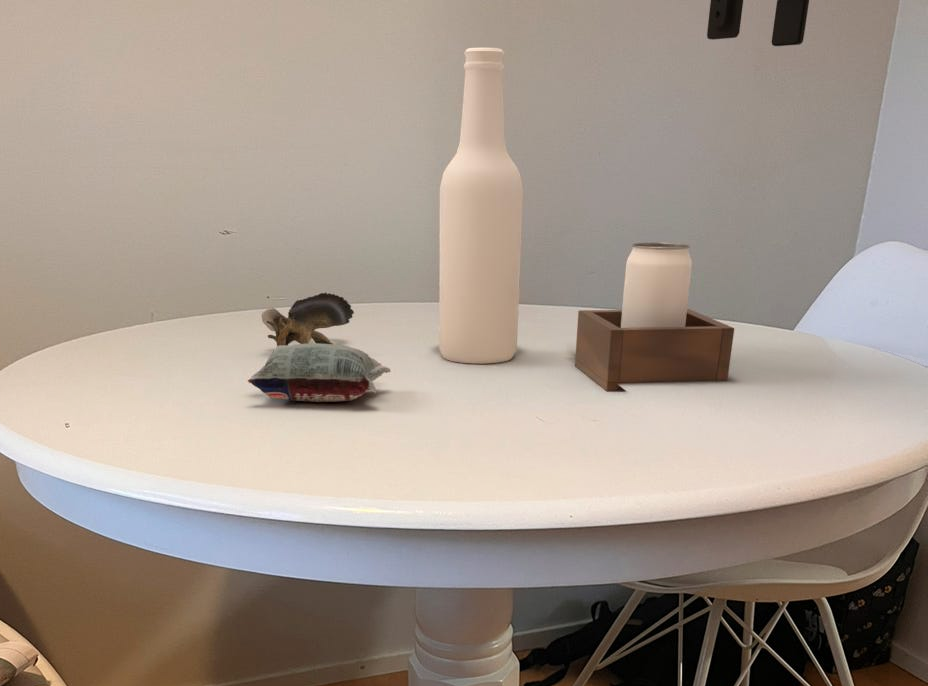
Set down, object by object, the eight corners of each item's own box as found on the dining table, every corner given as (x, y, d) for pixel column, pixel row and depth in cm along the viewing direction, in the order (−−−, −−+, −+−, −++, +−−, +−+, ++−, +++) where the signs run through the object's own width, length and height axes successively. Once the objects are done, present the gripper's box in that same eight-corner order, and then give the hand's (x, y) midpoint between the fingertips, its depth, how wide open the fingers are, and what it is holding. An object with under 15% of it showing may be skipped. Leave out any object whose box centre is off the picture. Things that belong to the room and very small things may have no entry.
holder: (683, 363, 108) (689, 308, 106) (726, 388, 97) (734, 328, 95) (574, 365, 107) (578, 310, 104) (606, 391, 96) (611, 330, 93)
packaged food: (273, 385, 97) (269, 334, 94) (391, 389, 96) (390, 337, 93) (248, 407, 89) (243, 352, 87) (376, 412, 88) (375, 356, 86)
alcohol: (531, 355, 112) (544, 50, 98) (488, 367, 105) (496, 43, 92) (468, 346, 116) (473, 54, 103) (423, 358, 110) (422, 47, 96)
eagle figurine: (308, 353, 106) (367, 328, 111) (273, 294, 104) (334, 270, 110) (279, 381, 112) (335, 356, 117) (245, 325, 111) (304, 302, 116)
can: (634, 359, 106) (645, 240, 100) (690, 367, 102) (704, 244, 97) (606, 369, 101) (616, 245, 96) (664, 377, 98) (677, 249, 92)
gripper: (760, -226, 76) (730, 32, 84) (881, -183, 86) (843, 45, 93) (685, -202, 81) (662, 38, 89) (806, -164, 91) (777, 50, 99)
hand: (755, 41), depth 91 cm, fingers open, 9 cm apart
